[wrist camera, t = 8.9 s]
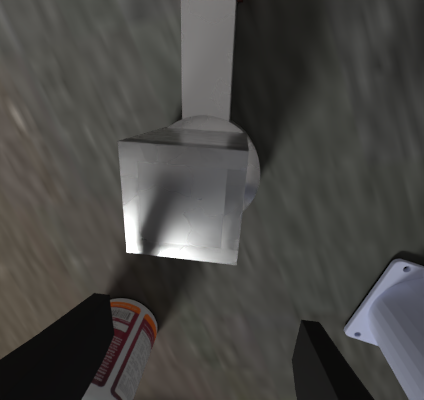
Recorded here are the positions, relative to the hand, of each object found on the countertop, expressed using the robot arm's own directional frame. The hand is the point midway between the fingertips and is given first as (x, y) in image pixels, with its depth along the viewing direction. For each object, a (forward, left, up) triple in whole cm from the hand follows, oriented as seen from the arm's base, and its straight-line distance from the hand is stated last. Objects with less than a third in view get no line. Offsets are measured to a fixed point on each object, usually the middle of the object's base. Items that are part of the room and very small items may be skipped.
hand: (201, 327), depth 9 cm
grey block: (+2, -4, -8) cm, 9 cm away
